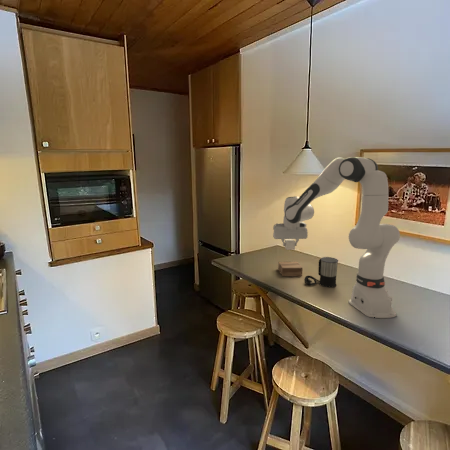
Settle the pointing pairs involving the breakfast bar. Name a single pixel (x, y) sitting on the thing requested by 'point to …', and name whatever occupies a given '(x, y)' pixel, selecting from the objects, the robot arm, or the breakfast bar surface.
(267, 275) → the breakfast bar surface
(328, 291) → the breakfast bar surface
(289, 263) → the walnut base
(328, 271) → the milk frother
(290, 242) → the cube
